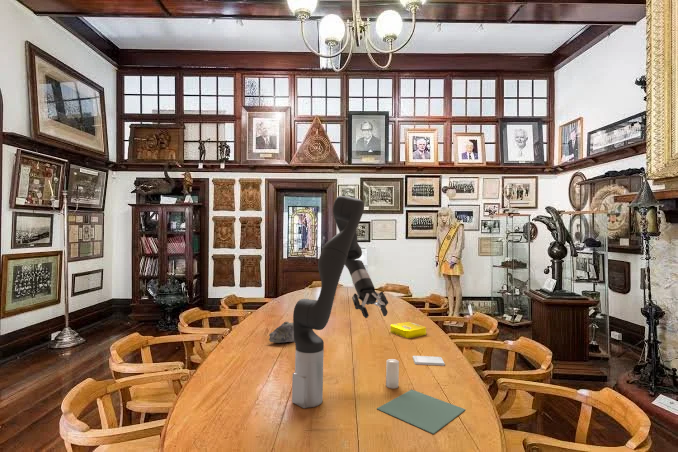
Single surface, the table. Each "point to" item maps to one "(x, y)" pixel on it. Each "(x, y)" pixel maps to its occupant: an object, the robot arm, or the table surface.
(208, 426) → the table surface
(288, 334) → the mineral rock
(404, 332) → the element tile
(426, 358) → the hard drive
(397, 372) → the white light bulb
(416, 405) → the felt mat
